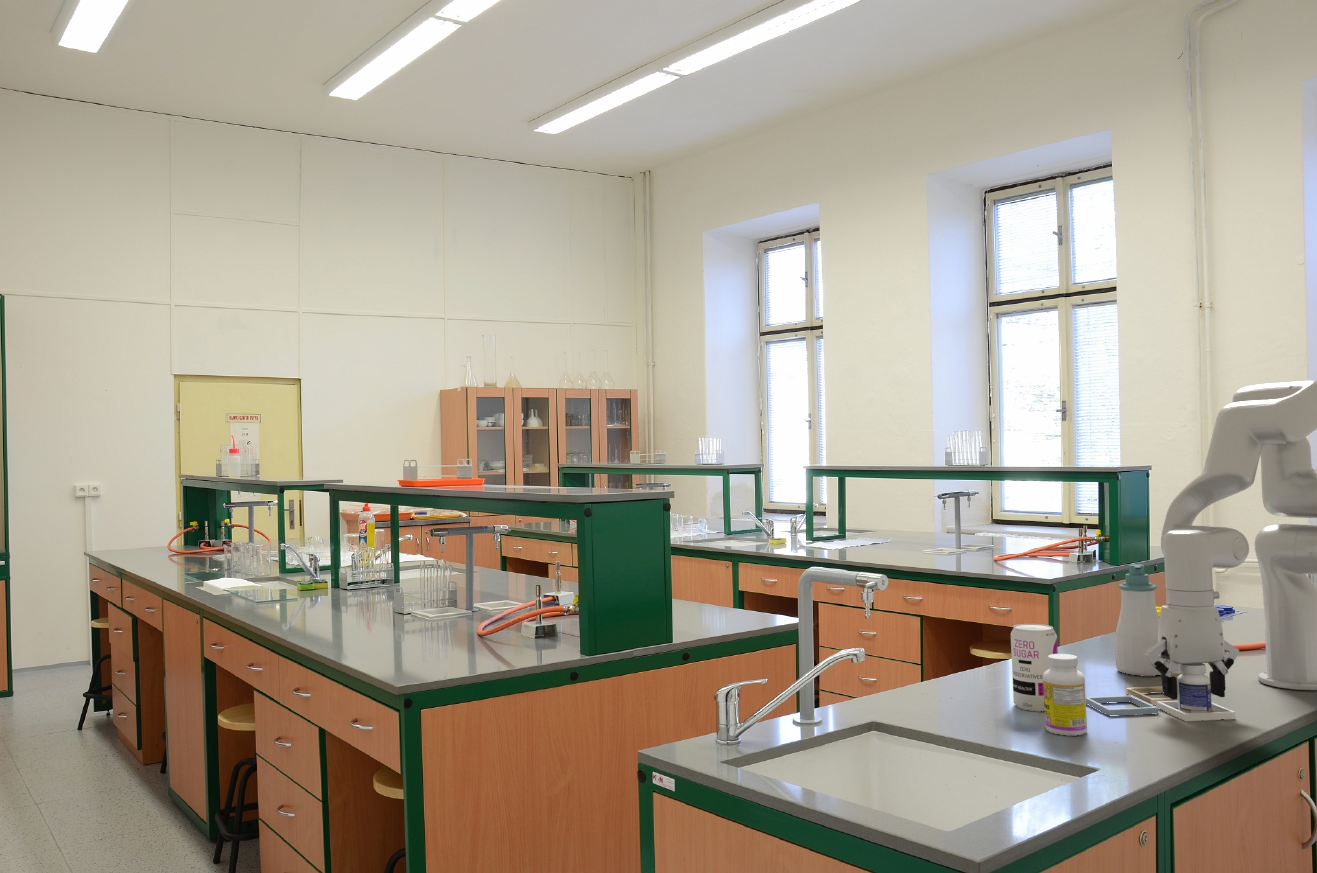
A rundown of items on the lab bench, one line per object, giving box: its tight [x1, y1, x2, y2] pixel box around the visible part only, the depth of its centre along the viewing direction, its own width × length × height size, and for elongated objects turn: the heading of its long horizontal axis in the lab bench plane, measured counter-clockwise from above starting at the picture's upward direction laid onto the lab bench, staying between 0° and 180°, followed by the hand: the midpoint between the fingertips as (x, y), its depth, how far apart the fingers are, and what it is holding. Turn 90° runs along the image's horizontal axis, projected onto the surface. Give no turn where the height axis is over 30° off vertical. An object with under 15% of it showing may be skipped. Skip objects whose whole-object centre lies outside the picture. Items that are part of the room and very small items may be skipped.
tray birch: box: [1125, 685, 1178, 705], centre depth 183 cm, size 9×9×1 cm
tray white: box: [1156, 701, 1236, 722], centre depth 172 cm, size 9×9×1 cm
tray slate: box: [1086, 695, 1159, 717], centre depth 177 cm, size 9×9×1 cm
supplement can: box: [1010, 623, 1059, 713], centre depth 180 cm, size 8×8×15 cm
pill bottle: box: [1177, 663, 1213, 714], centre depth 172 cm, size 5×5×9 cm
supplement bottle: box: [1043, 653, 1088, 737], centre depth 164 cm, size 7×7×13 cm
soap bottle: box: [1114, 563, 1162, 677], centre depth 205 cm, size 10×10×23 cm
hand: (1194, 696), depth 172 cm, fingers open, 8 cm apart
